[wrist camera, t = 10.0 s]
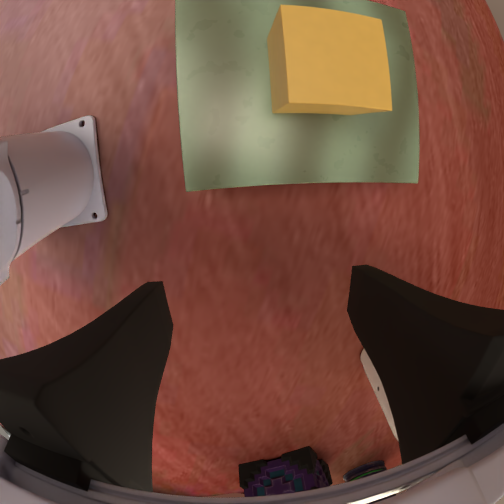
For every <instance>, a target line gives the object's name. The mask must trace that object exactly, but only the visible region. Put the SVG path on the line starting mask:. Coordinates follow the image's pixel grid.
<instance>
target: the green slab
mask: <svg viewBox="0 0 504 504" xmlns="http://www.w3.org/2000/svg"><path fill="white" fill-rule="evenodd" d="M280 5H295V6H307V7H317V8H325V9H332V10H338V11H344V12H350V13H355V14H360V15H364V16H369V17H373V18H377V19H381V20H382V24H383V30H384V36H385V42H386V49H387V56H388V64H389V73H390V84H391V97H392V111H385V112H375V113H366V114H357V115H339V114H317V113H272V101H271V86H270V72H269V58H268V46H267V37H268V35H269V32H270V30H271V27H272V24H273V22H274V19H275V17H276V14H277V12H278V9H279V7H280ZM175 40H176V74H177V94H178V110H179V124H180V137H181V148H182V159H183V169H184V179H185V188H186V192H190V191H199V190H209V189H220V188H232V187H245V186H260V185H277V184H298V183H333V182H387V183H418V174H419V109H418V93H417V82H416V72H415V64H414V57H413V50H412V44H411V38H410V33H409V27H408V23H407V18H406V14H405V11H402V10H399V9H396V8H393V7H390V6H386V5H383V4H379V3H375V2H372V1H368V0H175Z"/></svg>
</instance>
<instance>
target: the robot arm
mask: <svg viewBox="0 0 504 504" xmlns="http://www.w3.org/2000/svg"><path fill="white" fill-rule="evenodd" d="M83 121H85V125H84V126H83V127H82V122H83ZM94 212H95V213H96V214H97V218H96V217H95V216H94ZM106 218H107V208H106V202H105V196H104V190H103V184H102V177H101V170H100V163H99V154H98V145H97V134H96V122H95V118H94V116H91V115H88V116H84V117H81V118H78V119H75V120H72V121H69V122H66V123H63V124H60V125H57V126H55V127H52V128H49V129H47V130H44V131H42V132H39V133H28V134H19V135H11V136H3V137H0V285H1V284H2V283H4V282H5V281H6V280H7V279H8V278H9V266H10V263H11V262H12V261H13V260H15V259H16V258H17V257H19V256H20V255H21V254H23V253H24V252H25V251H27V250H28V249H29V248H31V247H32V246H34V245H35V244H36V243H38V242H39V241H41V240H42V239H43V238H45V237H46V236H48V235H49V234H51V233H52V232H54V231H55V230H57V229H58V228H61V227H67V226H73V225H80V224H86V223H93V222H100V221H103V220H105V219H106ZM347 312H348V314H349V317H350V320H351V323H352V325H353V328H354V330H355V332H356V334H357V336H358V338H359V340H360V342H361V344H362V345H363V347H364V349H365V351H366V353H367V355H368V356H369V358H370V360H371V362H372V364H373V366H374V368H375V370H376V371H377V374H378V376H379V378H380V380H381V383H382V386H383V388H384V391H385V394H386V397H387V400H388V403H389V406H390V409H391V413H392V416H393V420H394V424H395V428H396V432H397V436H398V441H399V447H400V452H401V459H402V465H400V466H397V467H394V468H392V469H389V470H386V471H383V472H380V473H377V474H374V475H371V476H367V477H364V478H361V479H357V480H353V481H350V482H346V483H342V484H338V485H333V486H329V487H324V488H319V489H314V490H308V491H302V492H296V493H288V494H280V495H271V496H258V497H241V498H240V497H238V498H210V497H209V498H208V497H189V496H177V495H168V494H160V493H153V488H152V437H153V424H154V415H155V406H156V400H157V395H158V390H159V387H160V383H161V379H162V376H163V372H164V368H165V365H166V361H167V357H168V354H169V350H170V346H171V339H172V331H173V322H172V318H171V315H170V311H169V307H168V303H167V298H166V294H165V290H164V286H163V281H159V282H147V283H145V284H144V285H142V286H140V287H139V288H138V289H136V290H135V291H134V292H132V293H131V294H130V295H128V296H127V297H126V298H124V299H123V300H122V301H120V302H119V303H118V304H116V305H115V306H114V307H112V308H111V309H109V310H108V311H107V312H105V313H104V314H102V315H101V316H99V317H98V318H97V319H95V320H94V321H92V322H91V323H89V324H87V325H86V326H84V327H82V328H81V329H79V330H77V331H75V332H74V333H72V334H70V335H68V336H66V337H64V338H61V339H59V340H57V341H55V342H53V343H51V344H49V345H46V346H44V347H41V348H38V349H36V350H33V351H30V352H27V353H24V354H20V355H17V356H13V357H9V358H4V359H0V423H1V424H2V425H3V426H4V427H5V428H6V429H7V430H8V431H9V432H10V433H11V436H10V438H9V441H8V440H7V439H6V438H5V437H3V436H2V435H0V504H366V503H369V502H372V501H376V500H378V499H381V498H384V497H387V496H390V495H392V494H395V493H397V492H400V491H402V490H405V489H407V488H408V489H407V491H406V492H403V493H401V494H398V495H396V496H393V497H391V498H388V499H385V500H382V501H379V502H377V503H374V504H495V503H496V502H497V501H498V500H499V499H500V498H502V497H503V496H504V310H500V309H492V308H485V307H479V306H475V305H470V304H466V303H462V302H458V301H455V300H451V299H448V298H445V297H442V296H439V295H436V294H434V293H431V292H429V291H426V290H424V289H421V288H419V287H417V286H414V285H412V284H410V283H408V282H406V281H403V280H401V279H399V278H397V277H395V276H393V275H391V274H388V273H386V272H384V271H382V270H380V269H377V268H375V267H372V266H369V265H359V266H352V275H351V284H350V292H349V300H348V307H347Z"/></svg>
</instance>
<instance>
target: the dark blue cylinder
mask: <svg viewBox="0 0 504 504" xmlns="http://www.w3.org/2000/svg"><path fill="white" fill-rule="evenodd" d="M383 471H386V467H385V466H384V461H374V462H370V463H367V464H364V465H362V466H359V467H357V468H355V469H353V470H351V471H349V472H348V473H346V474H345V475H344V476H343V478H344V480H345V483H346V482H350V481H353V480H357V479H361V478H364V477H367V476H371V475H374V474H377V473H380V472H383ZM393 496H396V494H392V495H390V496H387V497H384V498H381V499H378V500H376V501H372V502H369V503H366V504H374V503H377V502H379V501H382V500H385V499H388V498H391V497H393Z"/></svg>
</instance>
